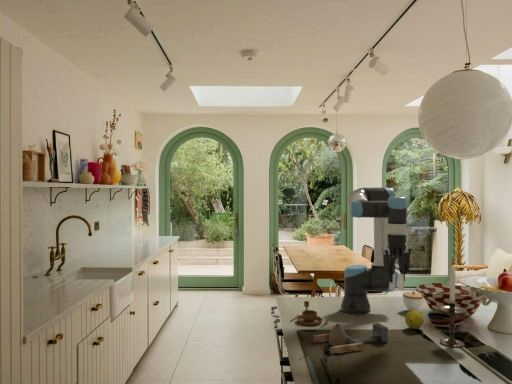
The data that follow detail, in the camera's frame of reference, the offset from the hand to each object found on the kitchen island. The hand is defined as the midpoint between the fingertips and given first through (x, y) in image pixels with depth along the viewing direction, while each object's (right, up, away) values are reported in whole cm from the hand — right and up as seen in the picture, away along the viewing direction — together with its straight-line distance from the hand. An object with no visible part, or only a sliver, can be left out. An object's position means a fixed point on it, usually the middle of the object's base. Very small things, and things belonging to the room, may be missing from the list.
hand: (396, 289), depth 177 cm
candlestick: (+20, -21, -6) cm, 30 cm away
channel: (-26, -21, -9) cm, 35 cm away
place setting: (-32, -21, +27) cm, 46 cm away
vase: (-26, -21, -9) cm, 35 cm away
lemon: (+12, -21, +13) cm, 27 cm away
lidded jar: (+23, -21, +44) cm, 54 cm away
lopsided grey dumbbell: (-14, -20, -5) cm, 25 cm away
